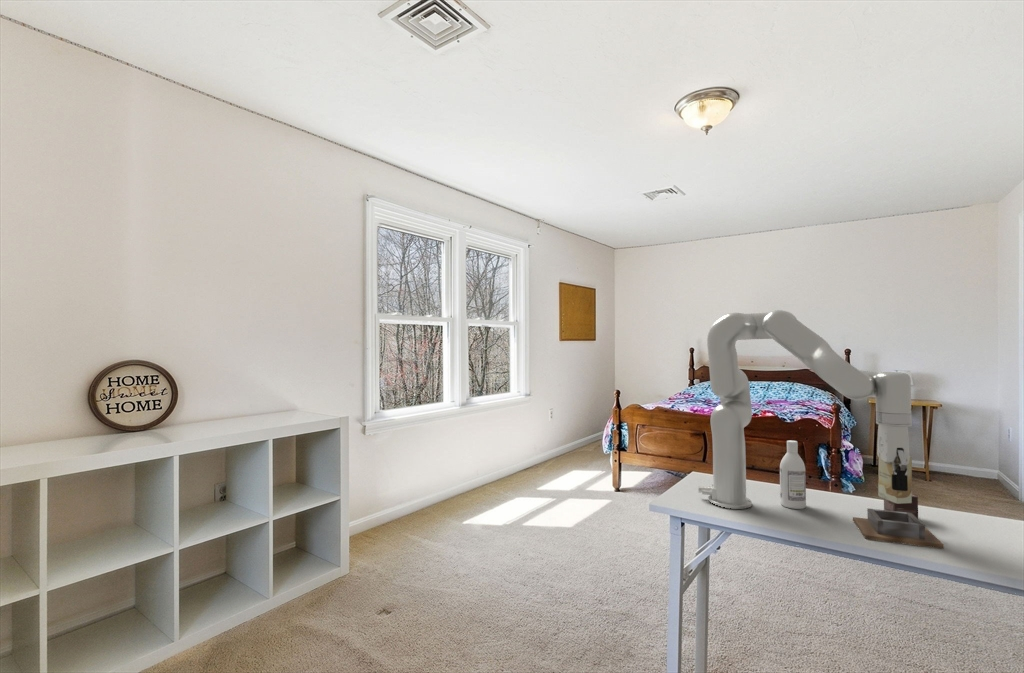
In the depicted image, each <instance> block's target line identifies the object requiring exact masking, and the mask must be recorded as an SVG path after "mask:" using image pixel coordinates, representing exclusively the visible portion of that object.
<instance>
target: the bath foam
mask: <svg viewBox="0 0 1024 673" xmlns="http://www.w3.org/2000/svg"><path fill="white" fill-rule="evenodd" d="M798 446H799V444H798V441H797V440H791V439H790V440H786V453H785V455H784V456H783V457H782V459H781V461H780V464H779V495H780V496H779V500H780V501H779V502H780V505H781V506H783V507H785V508H788V509H792V510H803V509H805V508H806V507H807V492H806V491H807V489H806V488H807V487H806V486H807V484H806V483H807V482H806V480H807V479H806V475H807V474H806V473H807V472H806V470H807V469H806V465H805V462H804V460H803V458H801V456H800V454H799V453H798V452H799V451H798V450H799V449H798V448H799V447H798Z"/></svg>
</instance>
